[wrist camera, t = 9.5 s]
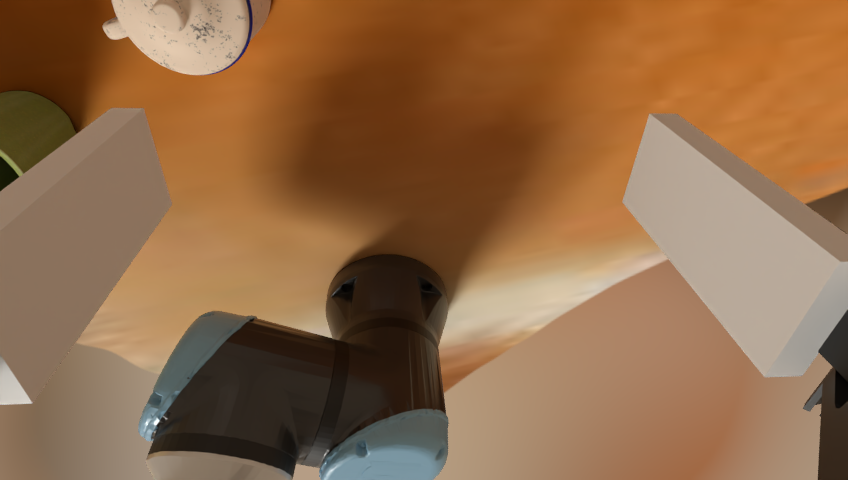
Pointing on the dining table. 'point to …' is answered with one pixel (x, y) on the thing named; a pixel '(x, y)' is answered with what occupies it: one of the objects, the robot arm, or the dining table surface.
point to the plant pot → (28, 132)
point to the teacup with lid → (189, 30)
